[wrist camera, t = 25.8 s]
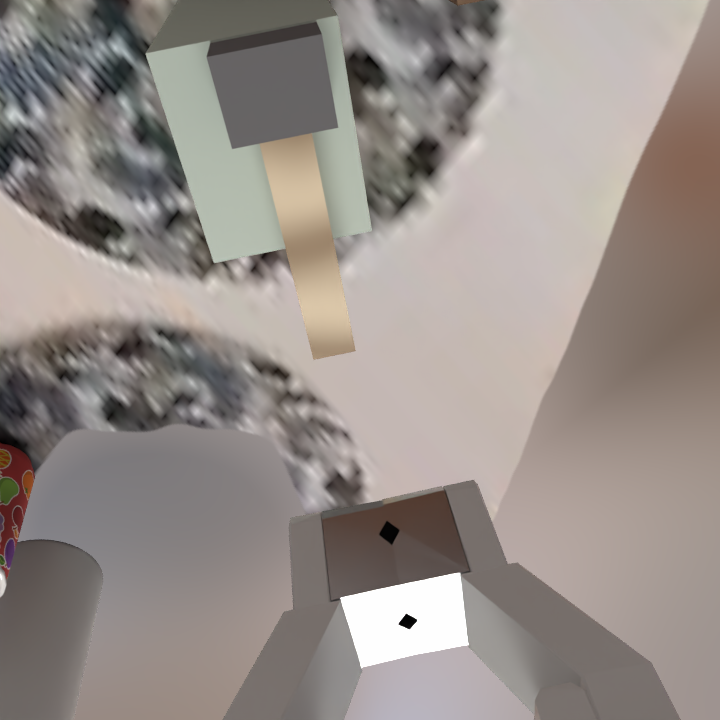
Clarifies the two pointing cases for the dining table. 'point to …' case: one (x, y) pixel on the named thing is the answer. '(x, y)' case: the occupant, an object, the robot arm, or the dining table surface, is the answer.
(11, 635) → the cylinder vase
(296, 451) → the dining table surface
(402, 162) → the dining table surface
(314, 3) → the pale green block
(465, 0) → the plant stand
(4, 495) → the smoothie
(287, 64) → the mallet
